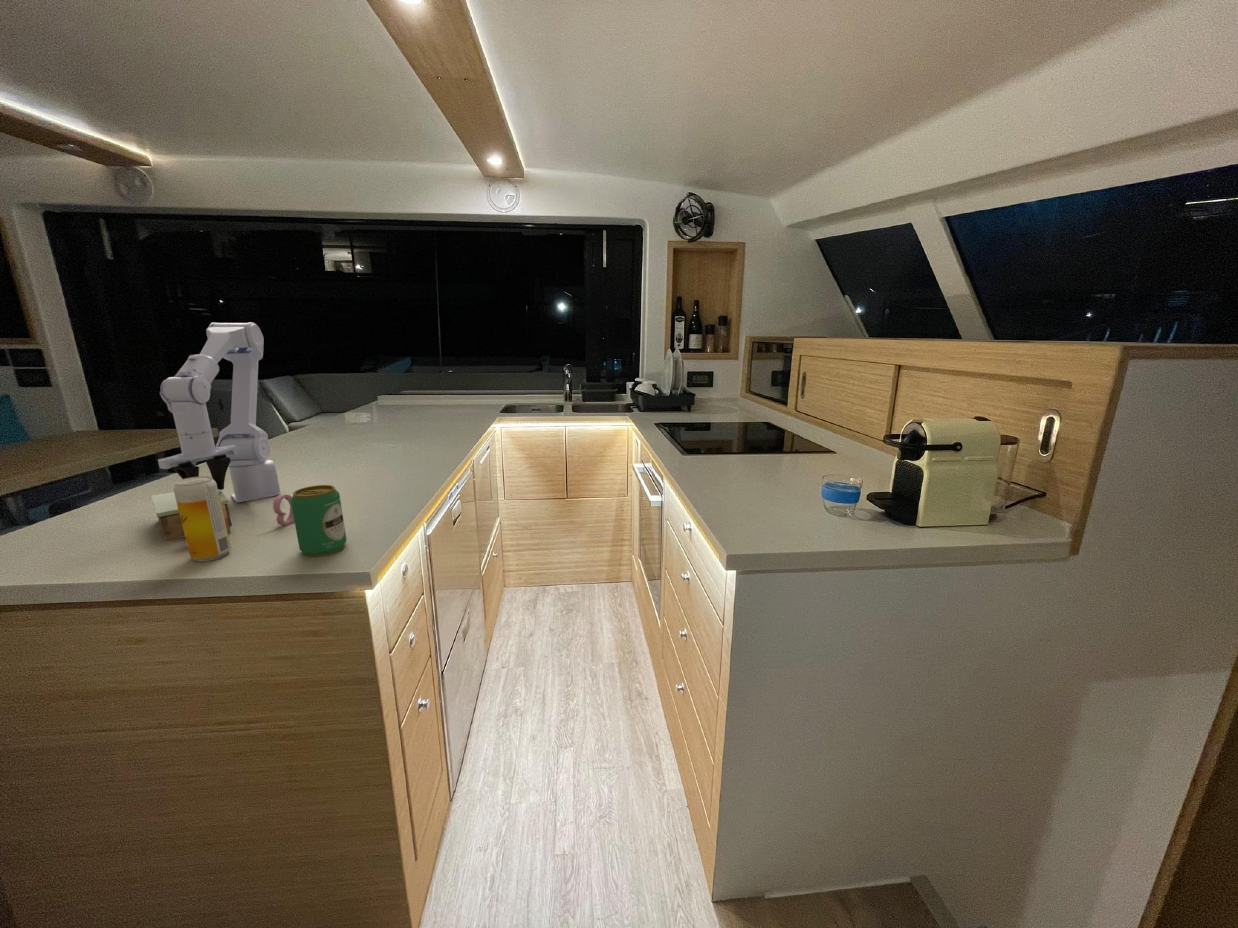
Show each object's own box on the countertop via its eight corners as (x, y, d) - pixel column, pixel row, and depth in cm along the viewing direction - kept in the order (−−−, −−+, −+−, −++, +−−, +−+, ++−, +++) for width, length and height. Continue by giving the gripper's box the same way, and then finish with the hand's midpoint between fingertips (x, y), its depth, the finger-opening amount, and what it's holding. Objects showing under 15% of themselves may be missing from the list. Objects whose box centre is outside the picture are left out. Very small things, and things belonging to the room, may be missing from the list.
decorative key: (336, 510, 127) (279, 527, 108) (331, 510, 128) (274, 527, 108) (334, 483, 127) (277, 496, 107) (330, 483, 127) (272, 496, 107)
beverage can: (327, 559, 93) (317, 498, 90) (290, 556, 95) (278, 495, 92) (356, 541, 101) (347, 485, 98) (321, 539, 102) (311, 483, 99)
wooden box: (220, 508, 120) (215, 489, 119) (232, 525, 110) (227, 505, 108) (159, 520, 113) (153, 500, 112) (165, 540, 102) (159, 518, 101)
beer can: (206, 549, 98) (188, 475, 94) (239, 548, 98) (222, 475, 94) (182, 563, 92) (162, 485, 88) (217, 562, 92) (199, 484, 88)
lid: (217, 487, 119) (213, 472, 118) (228, 503, 108) (225, 486, 107) (151, 499, 111) (147, 483, 110) (157, 517, 101) (152, 499, 100)
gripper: (218, 425, 116) (231, 481, 120) (143, 437, 103) (159, 499, 107) (239, 427, 114) (250, 484, 117) (164, 440, 101) (180, 503, 104)
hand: (208, 492), depth 112 cm, fingers closed on lid, 4 cm apart
